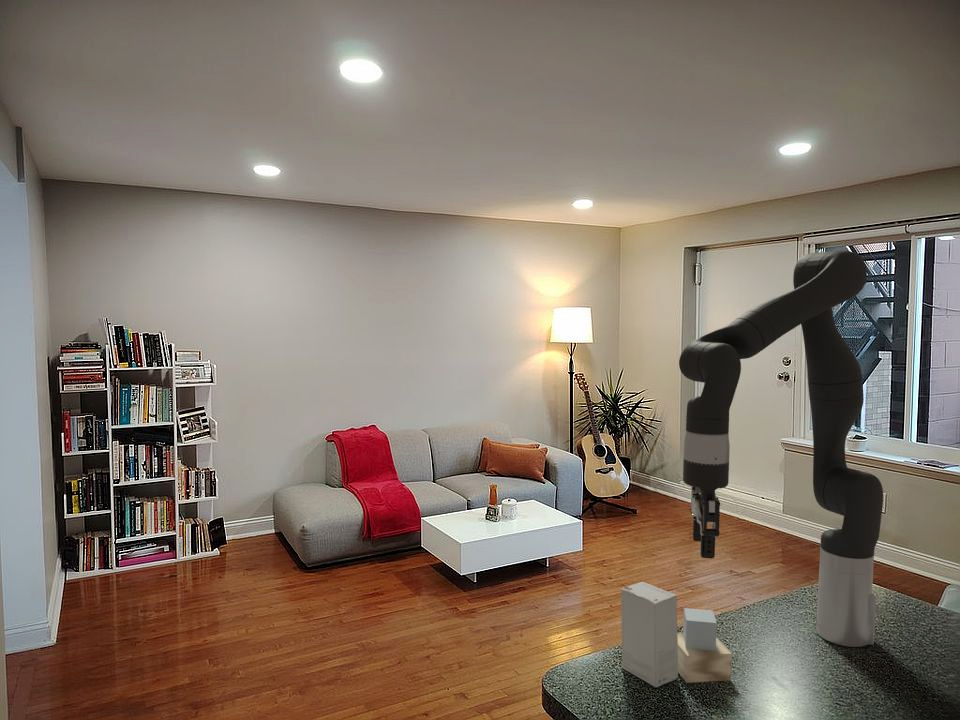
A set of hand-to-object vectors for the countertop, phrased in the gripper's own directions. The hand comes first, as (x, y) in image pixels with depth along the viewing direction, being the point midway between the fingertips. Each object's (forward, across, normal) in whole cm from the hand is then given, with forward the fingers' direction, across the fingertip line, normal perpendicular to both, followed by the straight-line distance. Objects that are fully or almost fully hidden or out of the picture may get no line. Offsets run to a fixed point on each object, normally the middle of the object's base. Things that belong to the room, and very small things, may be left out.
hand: (703, 548), depth 118 cm
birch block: (+22, 0, 0) cm, 22 cm away
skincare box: (+22, -3, +9) cm, 24 cm away
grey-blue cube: (+17, 0, 0) cm, 17 cm away
